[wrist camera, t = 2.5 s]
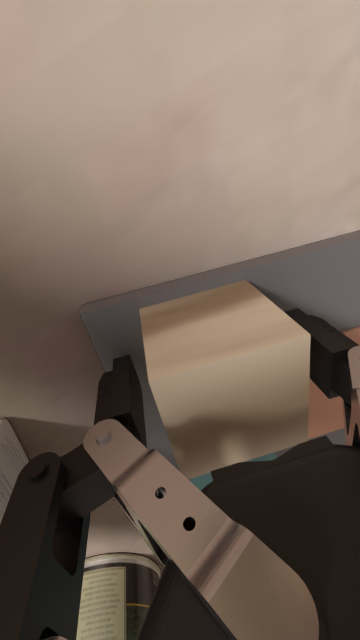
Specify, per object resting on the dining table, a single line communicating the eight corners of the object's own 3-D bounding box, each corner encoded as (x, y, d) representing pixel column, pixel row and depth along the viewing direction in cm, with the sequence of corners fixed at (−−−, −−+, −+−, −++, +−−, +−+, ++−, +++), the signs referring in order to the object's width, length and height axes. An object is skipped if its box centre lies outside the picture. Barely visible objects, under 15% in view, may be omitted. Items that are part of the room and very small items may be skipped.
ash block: (139, 308, 12) (148, 381, 8) (245, 279, 13) (310, 334, 8) (165, 390, 15) (183, 480, 10) (254, 364, 15) (307, 441, 11)
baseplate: (82, 304, 13) (78, 315, 12) (436, 209, 14) (460, 212, 13) (175, 522, 23) (177, 538, 22) (380, 455, 24) (391, 468, 23)
